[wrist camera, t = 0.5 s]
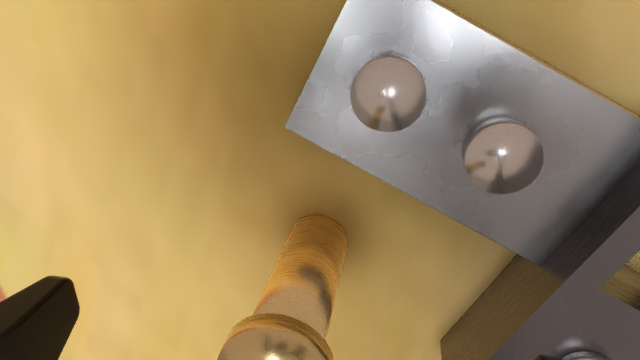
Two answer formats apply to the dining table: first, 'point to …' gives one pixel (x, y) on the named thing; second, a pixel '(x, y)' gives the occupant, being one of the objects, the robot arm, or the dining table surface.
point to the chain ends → (493, 170)
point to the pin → (295, 298)
